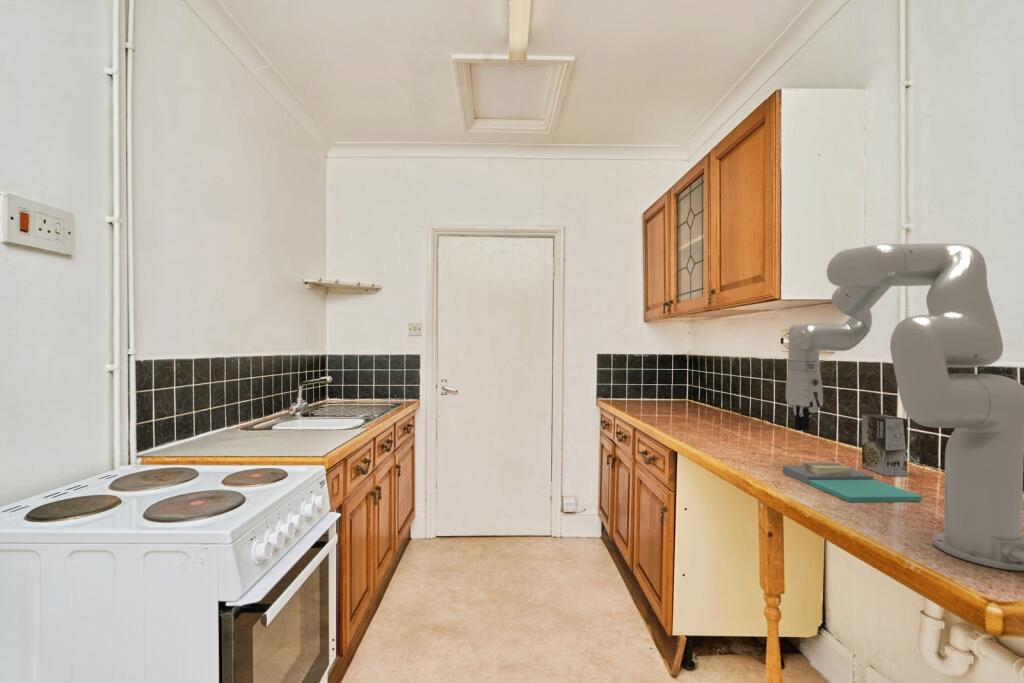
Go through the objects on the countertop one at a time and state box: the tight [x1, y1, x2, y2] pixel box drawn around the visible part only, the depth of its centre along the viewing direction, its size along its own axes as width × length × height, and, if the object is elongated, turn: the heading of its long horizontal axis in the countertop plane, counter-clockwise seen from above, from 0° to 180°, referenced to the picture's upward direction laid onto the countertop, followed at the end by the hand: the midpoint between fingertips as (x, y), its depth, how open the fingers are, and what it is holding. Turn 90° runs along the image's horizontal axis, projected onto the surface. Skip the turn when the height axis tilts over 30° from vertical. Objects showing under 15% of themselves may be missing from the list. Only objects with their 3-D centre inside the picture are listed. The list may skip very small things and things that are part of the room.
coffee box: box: [861, 413, 909, 477], centre depth 131 cm, size 9×6×16 cm
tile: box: [801, 461, 852, 475], centre depth 123 cm, size 6×9×2 cm, turn 93°
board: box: [782, 465, 874, 485], centre depth 124 cm, size 10×18×2 cm, turn 93°
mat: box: [808, 479, 923, 503], centre depth 112 cm, size 13×18×1 cm
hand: (801, 429), depth 132 cm, fingers closed
